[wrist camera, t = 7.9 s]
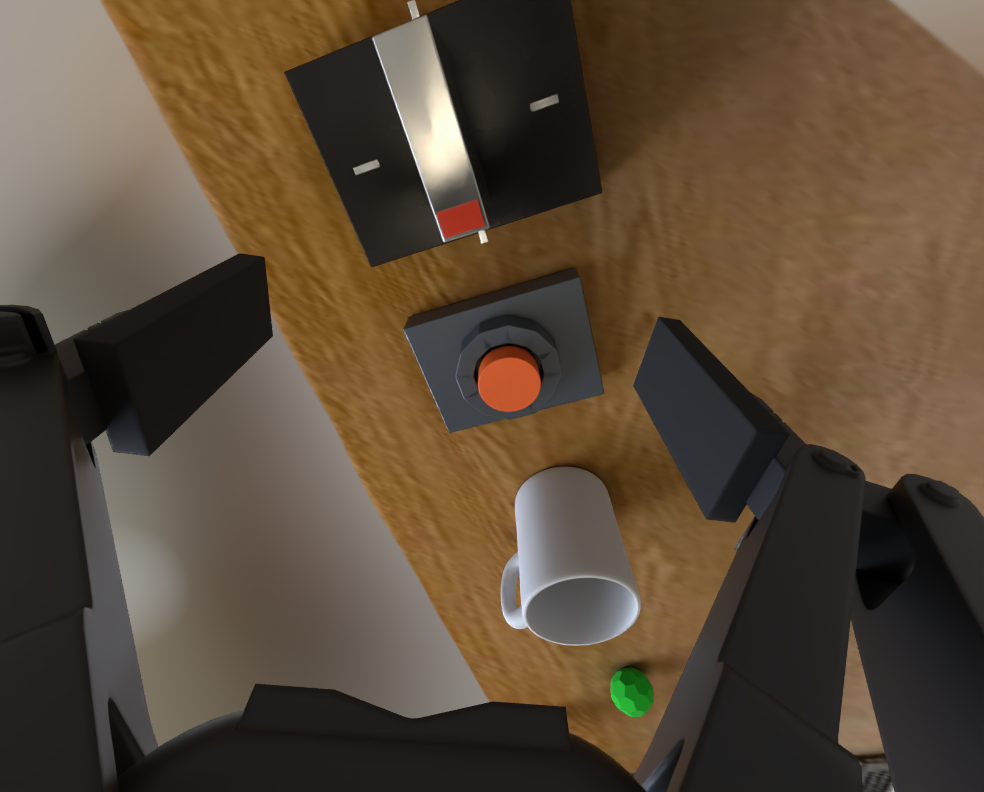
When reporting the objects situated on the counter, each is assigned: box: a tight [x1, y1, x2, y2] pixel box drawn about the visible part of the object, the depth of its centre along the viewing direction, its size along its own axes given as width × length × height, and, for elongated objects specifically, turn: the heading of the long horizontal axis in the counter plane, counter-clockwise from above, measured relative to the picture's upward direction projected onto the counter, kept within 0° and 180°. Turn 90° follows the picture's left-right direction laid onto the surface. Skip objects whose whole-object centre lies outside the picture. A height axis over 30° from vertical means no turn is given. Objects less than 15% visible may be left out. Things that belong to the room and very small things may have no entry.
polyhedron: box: [611, 667, 653, 717], centre depth 54 cm, size 5×5×5 cm
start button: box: [478, 346, 541, 412], centre depth 29 cm, size 4×4×2 cm
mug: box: [501, 467, 641, 645], centre depth 37 cm, size 12×8×11 cm
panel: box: [284, 0, 602, 267], centre depth 25 cm, size 14×11×3 cm
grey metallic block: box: [372, 14, 490, 242], centre depth 20 cm, size 7×2×8 cm, turn 17°
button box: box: [404, 268, 604, 433], centre depth 31 cm, size 12×9×4 cm
